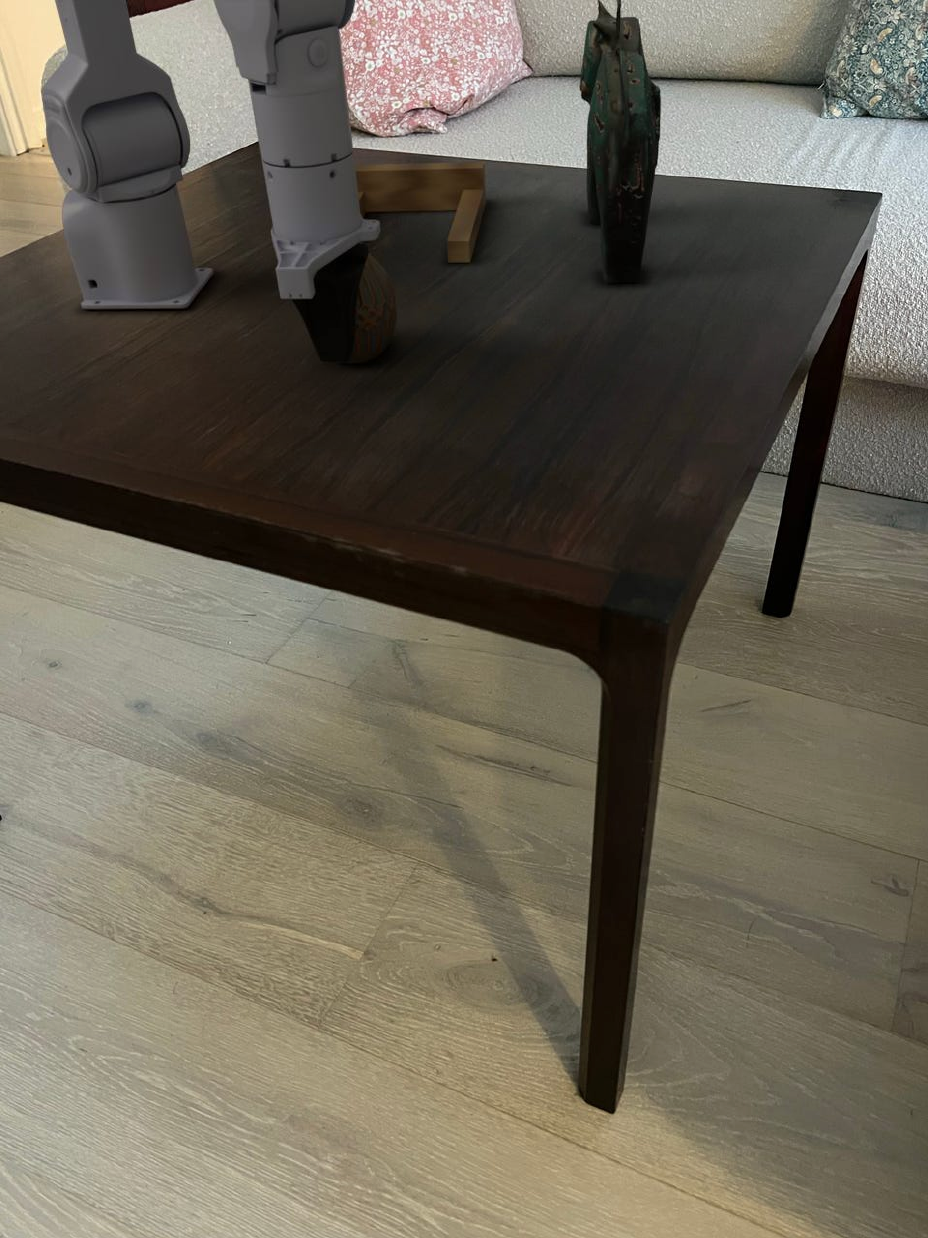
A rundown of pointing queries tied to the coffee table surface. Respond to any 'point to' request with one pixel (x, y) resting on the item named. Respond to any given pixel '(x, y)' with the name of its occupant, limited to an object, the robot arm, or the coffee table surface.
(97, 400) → the coffee table surface
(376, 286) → the vase
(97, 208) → the robot arm
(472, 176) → the rack
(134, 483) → the coffee table surface
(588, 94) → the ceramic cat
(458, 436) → the coffee table surface
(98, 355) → the coffee table surface
